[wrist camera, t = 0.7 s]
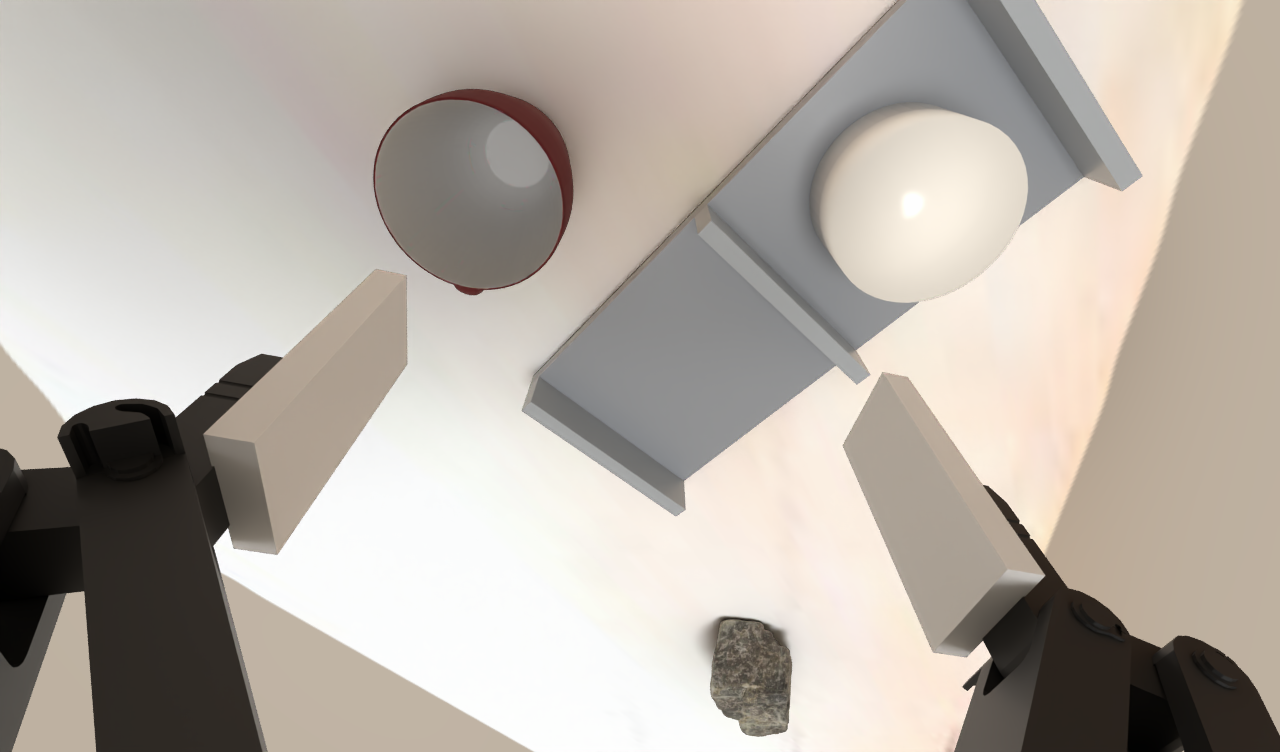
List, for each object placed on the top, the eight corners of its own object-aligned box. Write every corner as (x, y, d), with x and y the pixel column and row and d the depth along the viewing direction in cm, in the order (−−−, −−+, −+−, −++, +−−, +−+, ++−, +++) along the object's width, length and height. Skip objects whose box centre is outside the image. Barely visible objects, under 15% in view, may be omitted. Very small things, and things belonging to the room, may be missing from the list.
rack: (533, 376, 40) (521, 410, 37) (950, -54, 27) (995, -65, 23) (674, 477, 45) (675, 516, 41) (1088, 158, 31) (1142, 176, 28)
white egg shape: (776, 195, 32) (794, 222, 28) (916, 60, 28) (961, 68, 24) (871, 295, 35) (900, 333, 31) (1008, 186, 31) (1063, 212, 27)
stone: (805, 627, 62) (821, 735, 57) (742, 630, 64) (752, 734, 60) (772, 613, 51) (788, 745, 46) (698, 619, 54) (705, 744, 49)
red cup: (570, 274, 36) (543, 353, 28) (442, 244, 35) (374, 317, 27) (602, 95, 30) (581, 125, 22) (451, 55, 30) (369, 71, 21)
